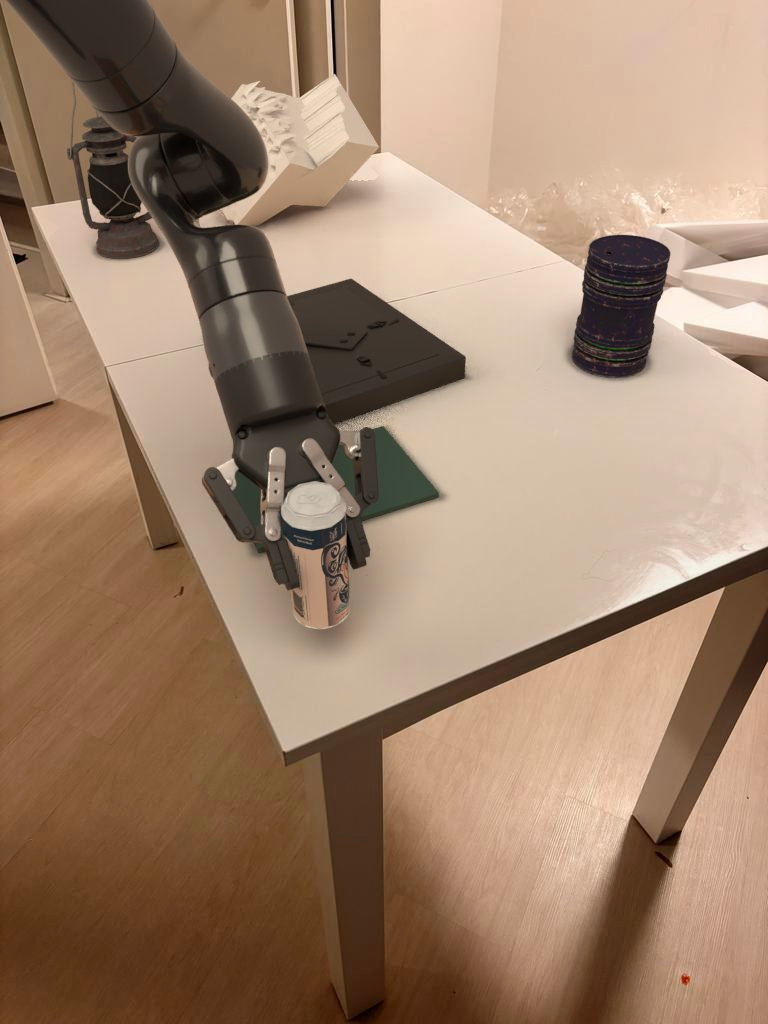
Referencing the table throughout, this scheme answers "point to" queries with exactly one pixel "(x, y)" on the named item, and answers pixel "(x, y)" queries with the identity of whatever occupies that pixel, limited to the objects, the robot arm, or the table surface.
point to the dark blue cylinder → (619, 304)
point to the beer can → (318, 554)
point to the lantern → (111, 192)
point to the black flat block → (368, 350)
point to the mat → (395, 483)
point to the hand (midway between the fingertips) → (327, 576)
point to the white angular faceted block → (302, 147)
